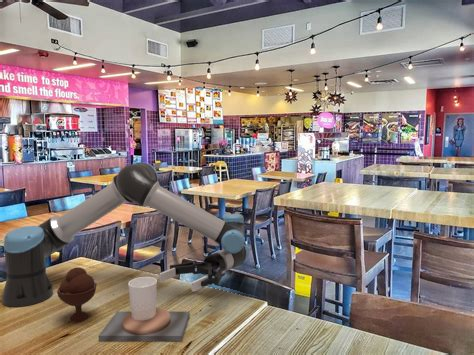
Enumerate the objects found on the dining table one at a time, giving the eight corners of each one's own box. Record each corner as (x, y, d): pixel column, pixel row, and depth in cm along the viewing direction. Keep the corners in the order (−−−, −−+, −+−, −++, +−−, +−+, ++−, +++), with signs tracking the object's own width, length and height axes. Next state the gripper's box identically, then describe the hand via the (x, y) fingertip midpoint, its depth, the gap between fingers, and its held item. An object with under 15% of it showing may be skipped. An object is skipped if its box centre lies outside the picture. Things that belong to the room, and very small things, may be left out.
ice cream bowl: (50, 323, 108) (47, 273, 107) (78, 307, 119) (76, 261, 117) (79, 329, 105) (76, 277, 103) (105, 312, 115) (103, 265, 114)
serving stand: (98, 341, 98) (98, 330, 98) (117, 316, 112) (116, 306, 112) (181, 341, 98) (181, 330, 98) (189, 316, 112) (189, 306, 112)
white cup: (150, 323, 102) (149, 288, 101) (124, 320, 103) (122, 285, 102) (162, 310, 109) (161, 277, 108) (138, 308, 111) (136, 275, 110)
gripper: (247, 280, 124) (207, 303, 107) (191, 267, 139) (148, 285, 121) (247, 258, 124) (207, 278, 106) (191, 247, 138) (147, 263, 121)
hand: (175, 282), depth 114 cm, fingers open, 13 cm apart
